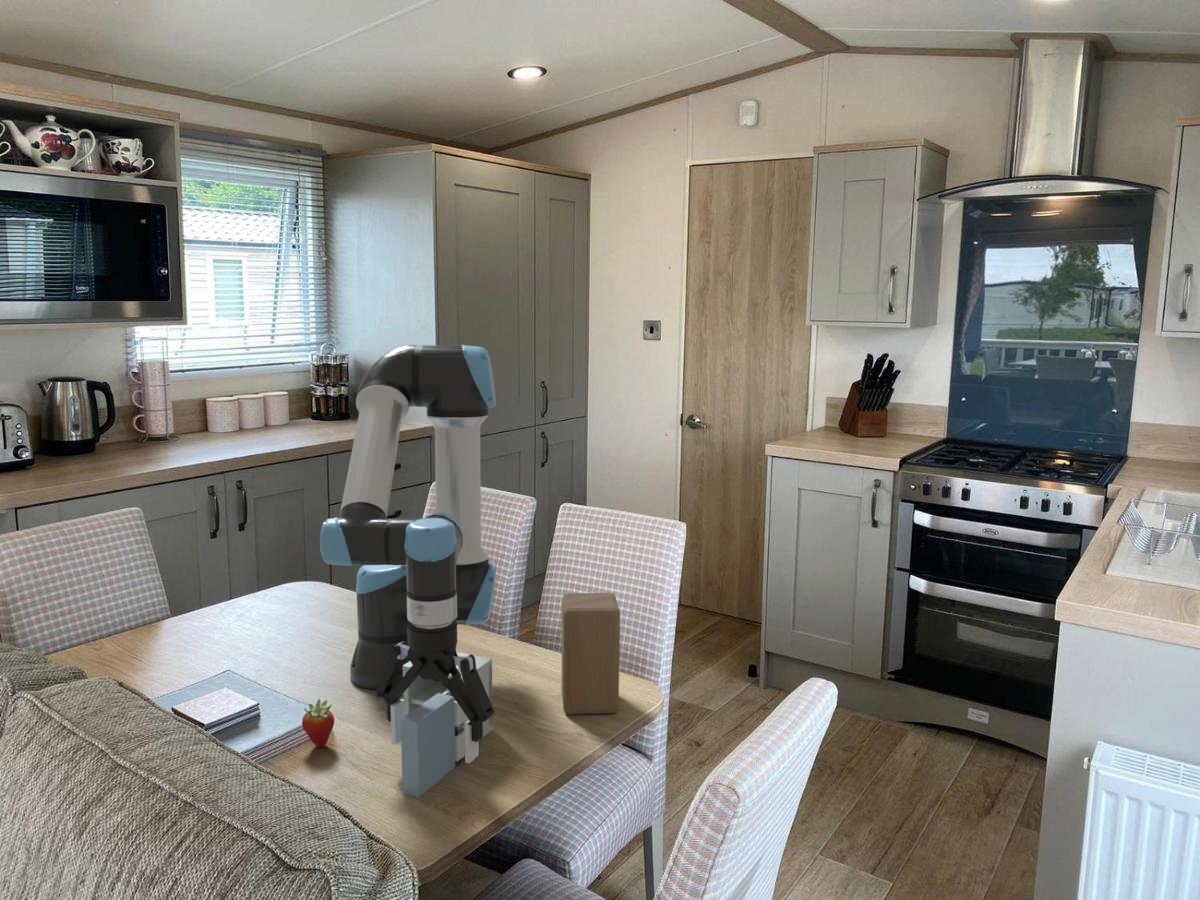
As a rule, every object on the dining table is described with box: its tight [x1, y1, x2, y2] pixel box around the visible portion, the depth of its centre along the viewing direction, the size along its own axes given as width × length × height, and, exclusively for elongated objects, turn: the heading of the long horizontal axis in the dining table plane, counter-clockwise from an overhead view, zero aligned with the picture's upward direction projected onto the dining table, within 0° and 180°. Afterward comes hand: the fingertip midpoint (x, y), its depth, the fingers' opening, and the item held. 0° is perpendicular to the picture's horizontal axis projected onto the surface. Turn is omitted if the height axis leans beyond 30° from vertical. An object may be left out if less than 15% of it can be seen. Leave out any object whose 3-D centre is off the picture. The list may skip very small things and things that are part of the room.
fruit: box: [301, 698, 335, 748], centre depth 155 cm, size 5×5×8 cm
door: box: [400, 689, 468, 798], centre depth 147 cm, size 4×14×12 cm, turn 156°
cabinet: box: [402, 651, 493, 741], centre depth 160 cm, size 12×9×13 cm
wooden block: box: [561, 592, 621, 715], centre depth 171 cm, size 10×10×20 cm
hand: (434, 749), depth 147 cm, fingers open, 13 cm apart
